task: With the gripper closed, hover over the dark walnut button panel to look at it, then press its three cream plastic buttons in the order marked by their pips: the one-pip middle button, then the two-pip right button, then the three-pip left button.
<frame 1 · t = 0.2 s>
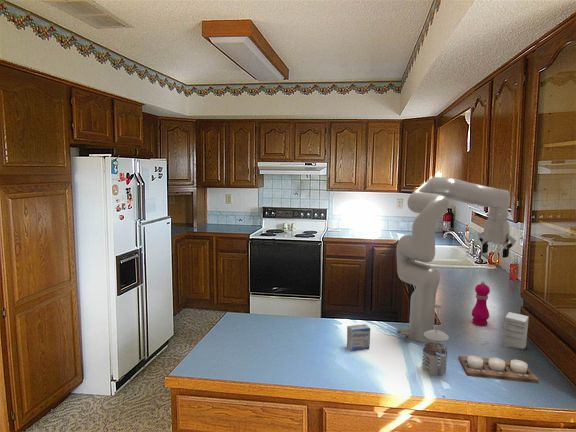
hand: (494, 255, 182), 31 cm above the counter, tool pointing down, fingers open, 9 cm apart
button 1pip: (496, 365, 139), point 3 cm above the counter, slide at 0.0 cm
pepper mill: (479, 324, 183), on the counter
button panel: (495, 373, 139), on the counter
supplement box: (514, 347, 160), on the counter
button 2pip: (518, 367, 138), point 3 cm above the counter, slide at 0.0 cm
french press: (434, 375, 138), on the counter
medicine box: (358, 348, 157), on the counter
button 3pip: (474, 363, 140), point 3 cm above the counter, slide at 0.0 cm
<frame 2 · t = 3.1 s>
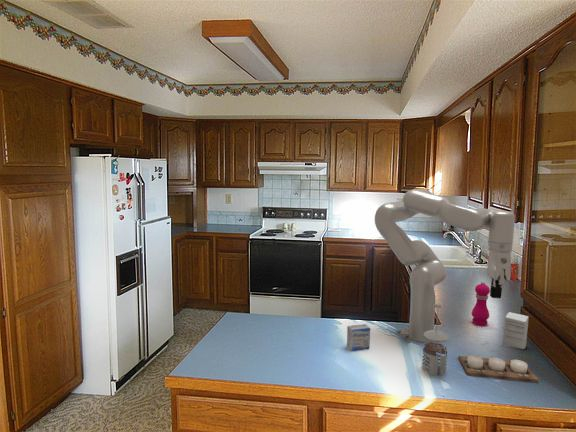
hand: (495, 297, 143), 25 cm above the counter, tool pointing down, fingers closed
nothing on the counter moved.
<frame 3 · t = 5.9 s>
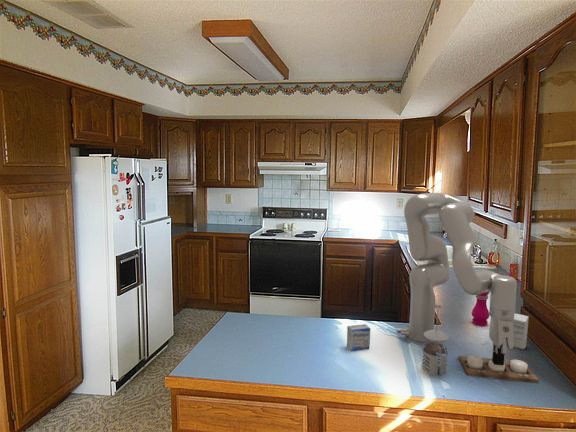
hand: (497, 363, 138), 4 cm above the counter, tool pointing down, fingers closed
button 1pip: (496, 367, 139), point 2 cm above the counter, slide at 0.9 cm
everything else where it was.
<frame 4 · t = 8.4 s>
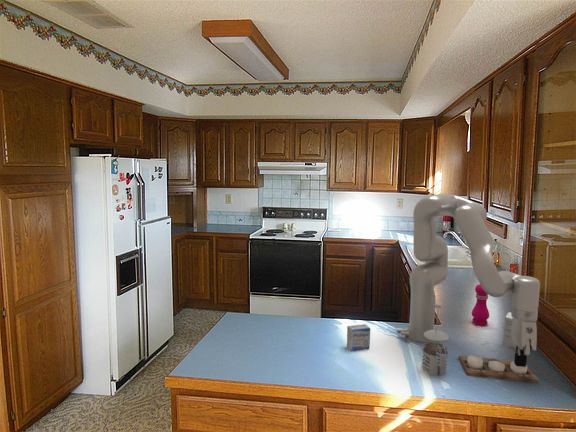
hand: (520, 365, 137), 4 cm above the counter, tool pointing down, fingers closed
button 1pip: (496, 368, 139), point 2 cm above the counter, slide at 1.2 cm
button 2pip: (518, 369, 138), point 2 cm above the counter, slide at 0.6 cm, touching gripper
everything else where it was.
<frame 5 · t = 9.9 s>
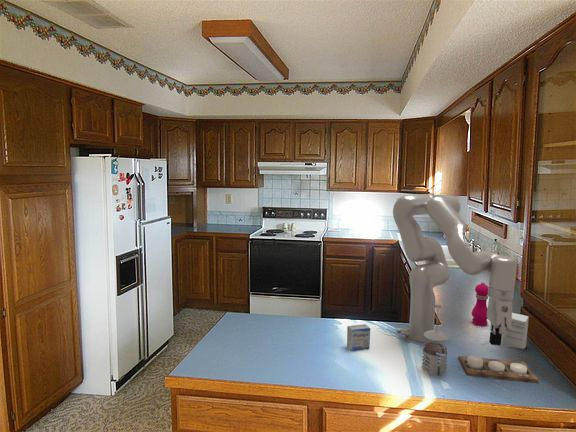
hand: (494, 343, 138), 11 cm above the counter, tool pointing down, fingers closed
button 2pip: (518, 370, 138), point 2 cm above the counter, slide at 1.2 cm
everything else where it was.
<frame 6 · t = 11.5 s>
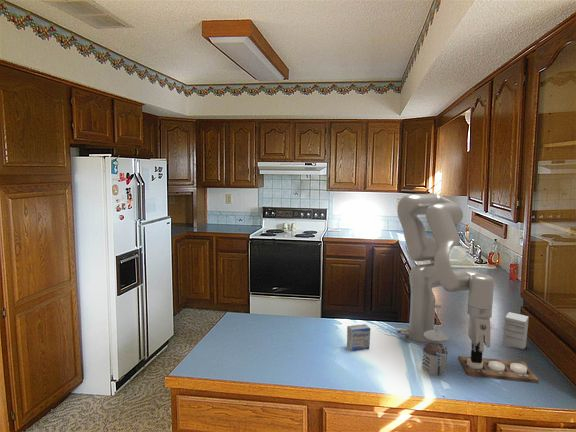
hand: (476, 361, 140), 4 cm above the counter, tool pointing down, fingers closed
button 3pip: (474, 365, 140), point 2 cm above the counter, slide at 0.9 cm
everything else where it was.
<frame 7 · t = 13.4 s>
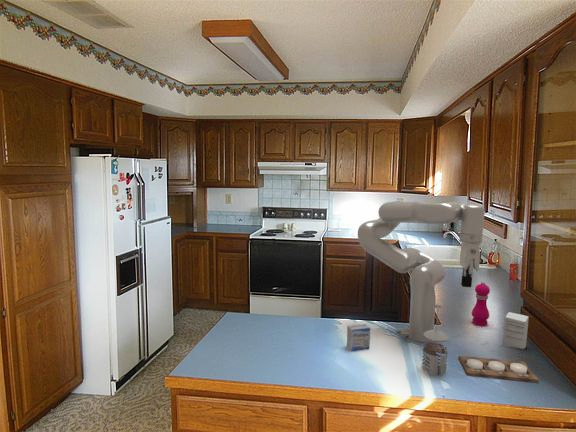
hand: (466, 286, 150), 26 cm above the counter, tool pointing down, fingers closed
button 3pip: (474, 366, 140), point 2 cm above the counter, slide at 1.2 cm
everything else where it was.
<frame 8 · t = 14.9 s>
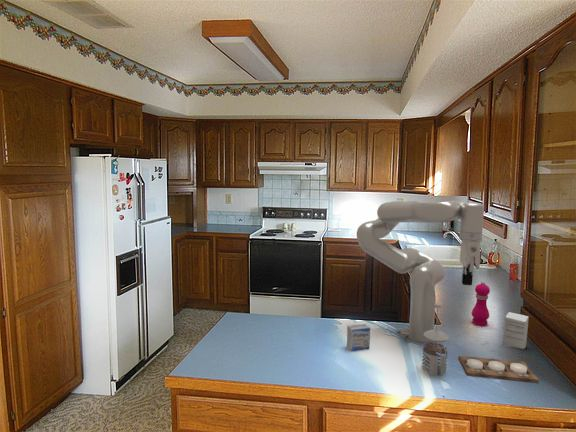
hand: (466, 284, 151), 27 cm above the counter, tool pointing down, fingers closed
nothing on the counter moved.
at the end: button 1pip slide at 1.2 cm; button 2pip slide at 1.2 cm; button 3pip slide at 1.2 cm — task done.
